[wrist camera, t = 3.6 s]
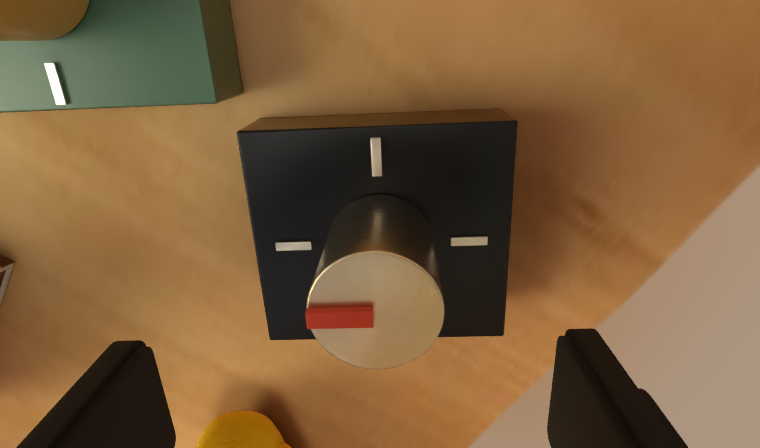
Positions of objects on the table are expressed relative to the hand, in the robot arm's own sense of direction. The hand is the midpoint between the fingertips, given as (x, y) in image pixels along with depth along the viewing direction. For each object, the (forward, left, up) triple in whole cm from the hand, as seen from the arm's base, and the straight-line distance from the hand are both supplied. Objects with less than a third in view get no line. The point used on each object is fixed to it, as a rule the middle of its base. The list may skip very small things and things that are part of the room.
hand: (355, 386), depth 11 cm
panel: (0, 0, -11) cm, 11 cm away
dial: (0, 0, -8) cm, 8 cm away
